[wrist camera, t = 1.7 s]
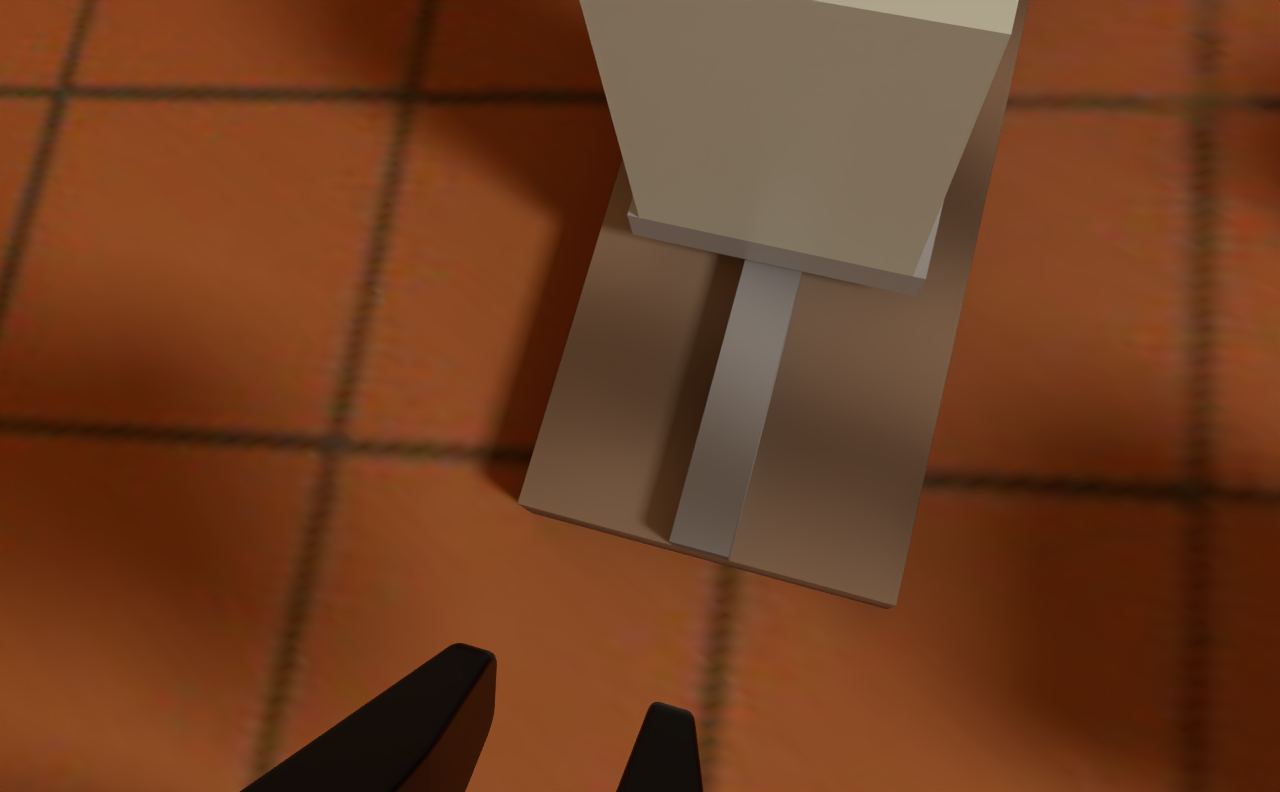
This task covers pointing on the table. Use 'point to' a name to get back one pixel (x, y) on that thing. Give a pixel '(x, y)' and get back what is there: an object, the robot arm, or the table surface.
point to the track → (760, 396)
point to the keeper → (797, 123)
